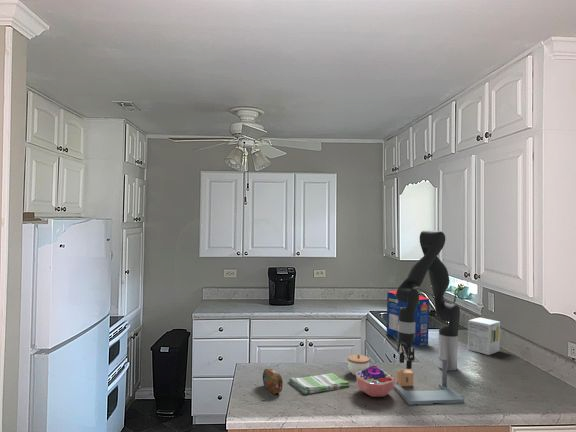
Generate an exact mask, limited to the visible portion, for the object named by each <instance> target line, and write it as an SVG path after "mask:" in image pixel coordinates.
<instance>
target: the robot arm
mask: <svg viewBox="0 0 576 432" xmlns="http://www.w3.org/2000/svg"><path fill="white" fill-rule="evenodd" d="M419 244H420V245H419V246H420V248H421V251H422V254H423V256H422V257H420V258H419V259H418V260H417V261H416V262H415V263H414V264H413V265H412V266H411V268H410V271H409V273H408V274H407V277H406V278H405V279H404V281H402V283H401V284H400V285H399V286H398V288H396V289H397V290H396V291H397V292H396V297H397V299H398V300H399V301H400V302H405V303H408V304H407V307H404V308H401V309H400V310H399V324H398V339H397V350H396V351H397V352H398V355H399V357H398V358H399V360H398V361H399V363H400V364H404V363H405V359H406V364H405V365H406V370H412V369H413V367H412V362H413V361H415V347H414V346H412V344H411V343H412V342H414V341H415V311H416V308H417V304H418V301H419V296H420V293H419V291H418V290H417V289H416V288H418V287H421V285H422V284H423V282H424V279H425V276H426V275H427V273H428V277H429V280H430V285H431V289H432V293H433V300H434V301H433V302H434V308H435V314H436V317H437V318H438V319H439V320H440V321H445V322H449V323H448V325H446V326H441V327H439V328H438V352H437V353H438V355H437V366H438V368H439V369H442V365H443V361H441V360H440V359H439V357H441V358H443V359H447V371H456V370H458V347H459V346H458V344H459V343H458V341H459V337H458V336H459V329H460V317H461V309H460V307H459V305H458V304H455V303H450V302H446V301H445V298H444V297H445V296H444V295H445V293H446V291H447V290H448V288H449V285H450V283H451V281H450V277H449V271H448V269H447V267H446V265H445V264H444V262H442V260H441V259H440V258H439V257H438V255H440V253H441V251H442V249H443V248H444V246H445V244H446V234H445V233H444V232H443V231H440V230H435V229H434V230H431V229H423V230H422V231H421V232H420V234H419Z"/></svg>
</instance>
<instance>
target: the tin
mask: <svg viewBox="0 0 576 432" xmlns="http://www.w3.org/2000/svg"><path fill="white" fill-rule="evenodd" d="M262 372H263V373H262V381H263V382H262V383H263V387H265V388H266V389H267V390H268V391H269V392H271V393H272V394H273V395H276V394H280V393H281V392H282V391H283V383H284V382H283V377H282V375H281V374H280V373H279V372H277V371H276V370H274V369H273V368H265V369H263V371H262Z"/></svg>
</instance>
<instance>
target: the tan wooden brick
mask: <svg viewBox="0 0 576 432" xmlns="http://www.w3.org/2000/svg"><path fill="white" fill-rule="evenodd" d="M396 376H397V377H396V383H397V385H398V384H399V385H400V386H401V387H413V386H414V372H413V371H412V369H397V372H396Z"/></svg>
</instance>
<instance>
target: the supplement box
mask: <svg viewBox="0 0 576 432" xmlns="http://www.w3.org/2000/svg"><path fill="white" fill-rule="evenodd" d="M467 321H468V322H467V324H468V325H467V350H468V351H472V352H476V353H479V354H480V353H481V354H483V355H487V356H490V355H493V354H496V353H498V352H500V346H501V345H500V343H501V342H500V341H501V339H500V338H501V321H498V320H496V319H495V320H494V319H490V318H484V317H477V318H476V317H475V318H472V319H469V320H467Z"/></svg>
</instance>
